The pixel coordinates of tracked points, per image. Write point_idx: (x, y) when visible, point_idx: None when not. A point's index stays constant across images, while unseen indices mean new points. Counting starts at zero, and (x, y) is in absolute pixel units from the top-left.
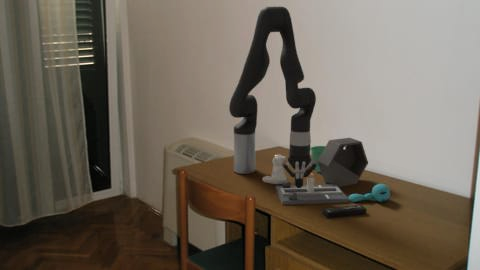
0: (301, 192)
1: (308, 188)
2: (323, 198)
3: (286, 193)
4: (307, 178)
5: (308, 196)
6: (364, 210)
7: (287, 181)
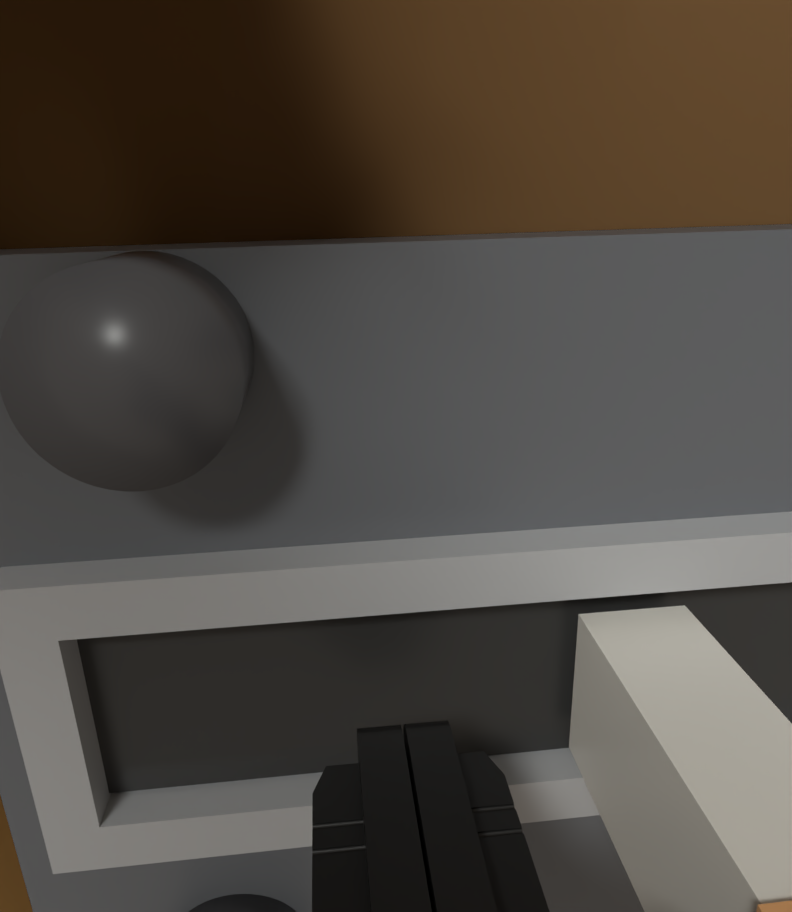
0: None
1: (596, 797)
2: None
3: (126, 861)
4: (705, 862)
5: None
6: None
7: (149, 329)
